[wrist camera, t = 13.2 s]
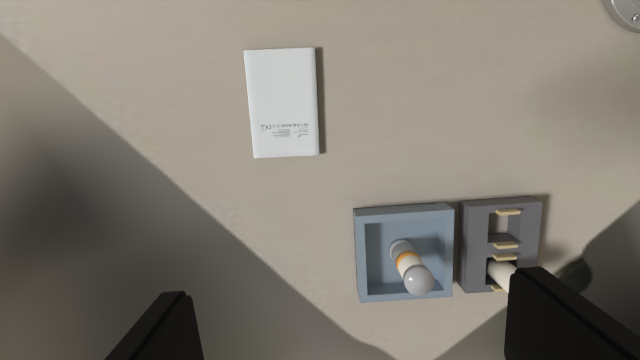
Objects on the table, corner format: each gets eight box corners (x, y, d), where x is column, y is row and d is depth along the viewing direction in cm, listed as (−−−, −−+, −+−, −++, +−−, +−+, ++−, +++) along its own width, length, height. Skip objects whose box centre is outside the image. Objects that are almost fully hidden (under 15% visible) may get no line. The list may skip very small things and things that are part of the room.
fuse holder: (529, 196, 40) (548, 204, 36) (521, 278, 42) (539, 293, 39) (459, 200, 40) (473, 209, 36) (457, 282, 42) (469, 297, 39)
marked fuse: (412, 237, 40) (434, 268, 33) (412, 259, 41) (434, 294, 33) (388, 239, 40) (404, 270, 33) (389, 261, 41) (405, 296, 33)
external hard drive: (315, 49, 36) (319, 153, 39) (246, 52, 36) (255, 156, 39) (314, 46, 34) (319, 155, 37) (242, 50, 34) (253, 158, 37)
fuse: (502, 249, 41) (545, 282, 34) (501, 270, 42) (542, 307, 34) (479, 251, 41) (516, 284, 34) (478, 272, 42) (514, 309, 34)
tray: (444, 202, 40) (454, 209, 37) (442, 283, 42) (451, 296, 40) (353, 208, 40) (355, 216, 37) (357, 289, 43) (360, 302, 40)
